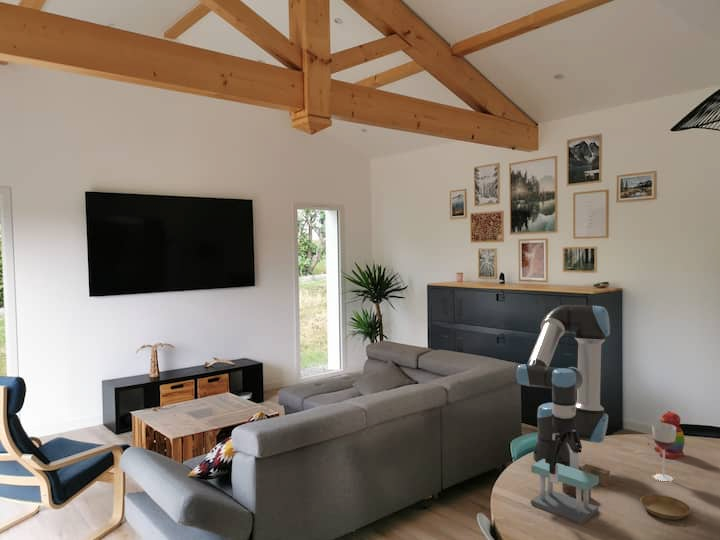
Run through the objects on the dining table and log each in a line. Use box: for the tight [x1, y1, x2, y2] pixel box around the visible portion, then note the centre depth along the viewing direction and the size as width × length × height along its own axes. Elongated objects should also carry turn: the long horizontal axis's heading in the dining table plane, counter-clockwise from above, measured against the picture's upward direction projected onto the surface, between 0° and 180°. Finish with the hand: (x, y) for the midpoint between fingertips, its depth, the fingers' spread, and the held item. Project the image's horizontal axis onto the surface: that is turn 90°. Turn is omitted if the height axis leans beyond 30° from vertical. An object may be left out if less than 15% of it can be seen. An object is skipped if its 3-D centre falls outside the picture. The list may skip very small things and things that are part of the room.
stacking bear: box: [654, 410, 686, 460], centre depth 229 cm, size 11×10×18 cm
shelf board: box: [530, 459, 599, 491], centre depth 184 cm, size 20×8×2 cm, turn 41°
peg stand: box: [530, 475, 599, 525], centre depth 185 cm, size 18×12×10 cm, turn 41°
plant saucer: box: [639, 494, 692, 521], centre depth 181 cm, size 15×15×3 cm
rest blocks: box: [562, 463, 611, 499], centre depth 200 cm, size 9×18×5 cm, turn 131°
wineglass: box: [651, 422, 676, 483], centre depth 206 cm, size 8×9×20 cm
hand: (564, 476), depth 185 cm, fingers open, 13 cm apart
